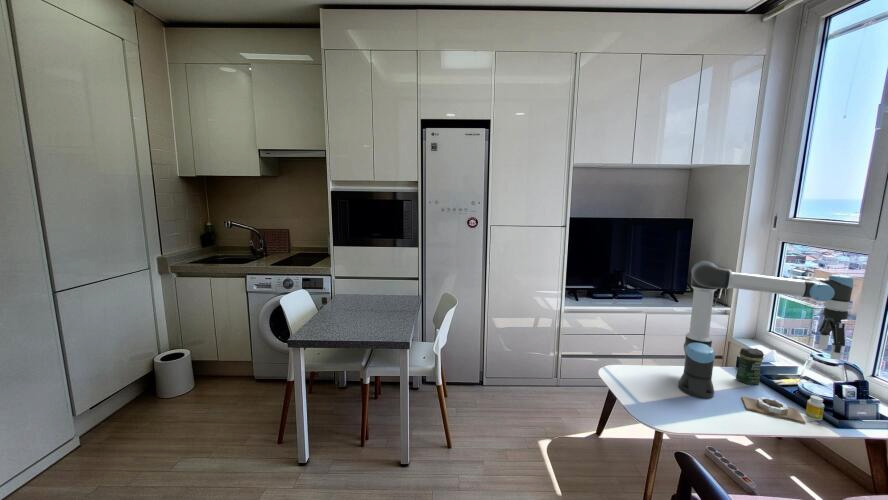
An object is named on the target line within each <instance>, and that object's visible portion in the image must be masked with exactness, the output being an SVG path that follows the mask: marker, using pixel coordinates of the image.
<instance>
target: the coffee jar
mask: <svg viewBox="0 0 888 500" xmlns="http://www.w3.org/2000/svg"><path fill="white" fill-rule="evenodd" d="M763 360H764V352H763V351H762V350H760V349H759V348H744V347H743V348H740V350H739V363H738V368H737V372H736V374H735V375H736V376H735V378H736V380H737V381H738V382H740V383H743V384H744V385H745V384H746V385H759V384H760V381H761V366H762V362H763Z"/></svg>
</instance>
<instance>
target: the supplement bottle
mask: <svg viewBox="0 0 888 500" xmlns="http://www.w3.org/2000/svg"><path fill="white" fill-rule="evenodd" d="M823 402H824V398H822V397H820V396H817V395H814V394H813V395H810V398H809V399H807V402H806V407H805V408H806V409H805V414H804V415H805V416H806V417H807V418H809V419H811V420H813V421H822V420H823V415H824V411H825V410H824V409H825V404H824V403H823Z"/></svg>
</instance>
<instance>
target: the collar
mask: <svg viewBox="0 0 888 500" xmlns="http://www.w3.org/2000/svg"><path fill="white" fill-rule="evenodd" d="M756 399H757V404H758V407H760V408H762V409H763V410H765V411H767V412H770V413H774V414H779V415H784V414H788V407H789V406H787V403H783V402H781V401H779V400H777V399H775V398H770V397H765V396H762V397H757V398H756ZM768 404H769V405H768ZM770 405H773V406H776V407H773V406H770ZM777 407H778V408H777Z"/></svg>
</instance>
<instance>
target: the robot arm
mask: <svg viewBox="0 0 888 500" xmlns="http://www.w3.org/2000/svg"><path fill="white" fill-rule="evenodd" d="M690 272H691V280H690V281H691V282H690V287H691V288H692V289H693V294H692V296H693V297H692V307H691V314H690V323H689V324H690V325H689V332H687V333H686V334H685V340H684V343H683V351H684V367H683V374H682V375H681V376H680V378H679V380H678V383H677V388H678V389H679V390H680V391H681V392H683V393H685V394H687V395H689V396H692V397H696V398H700V399H701V398H702V399H712V398H714V395H715V388H714V384H713V381H712V378H713V369H714V361H715V358H716V355H715V354H716V353H715V349H714V348H713V347H712V345H713V338H712V337H711V336H710V330H711V323H712V322H711V321H712V312H713V304H714V294H715V292H716V291H717V290H718V289H720V290H729V289H738V290H744V291H754V292H760V293H769V294H777V295H783V296H792V297H801V298H806V299H807V298H808V299H812V300H814V301H818V302H824V308H823V313H822V315H823V316H824V317H823V320H822V323H821V325H820V327H819V329H818V332H819V333H820V336H819V337H820V338H819V344H818V349H821V350H828V346H829V340H830V336H831V333H832V337H833V339H832V340H833V343H831V345H832V346H831V351H830V357H829V358H830V359H831V360H837V361H840V359H841V353H842V349H843V347H845V346H846V337H845V336H846V334H845V326H846V324H845V323H842V320H844V321H845V320H848V318H849V316H848V315H849V310H850V306H851V305H852V303H851V297H852V293H853V288H854V278H853V277H851V275H849V276H848V275H843V274H833V273H832V274H830V275H829V276H828V278H827V277H826V278H822V277H815V276H814V277H812V276H804V275H803V276H802V275H799V276H798V275H795V276H794V277H792V278H787V277H777V276H771V275H763V274H762V275H761V274H752V273H751V274H750V273H744V272H734V271H732V270H731V269H728V268H727V269H726V268H723V267H719V266H718V265H717V264H716V263H715V262H712V261H707V260H702V261H698V262H696V263H695V264H694V265H693V266H692V267H691V271H690Z"/></svg>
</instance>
